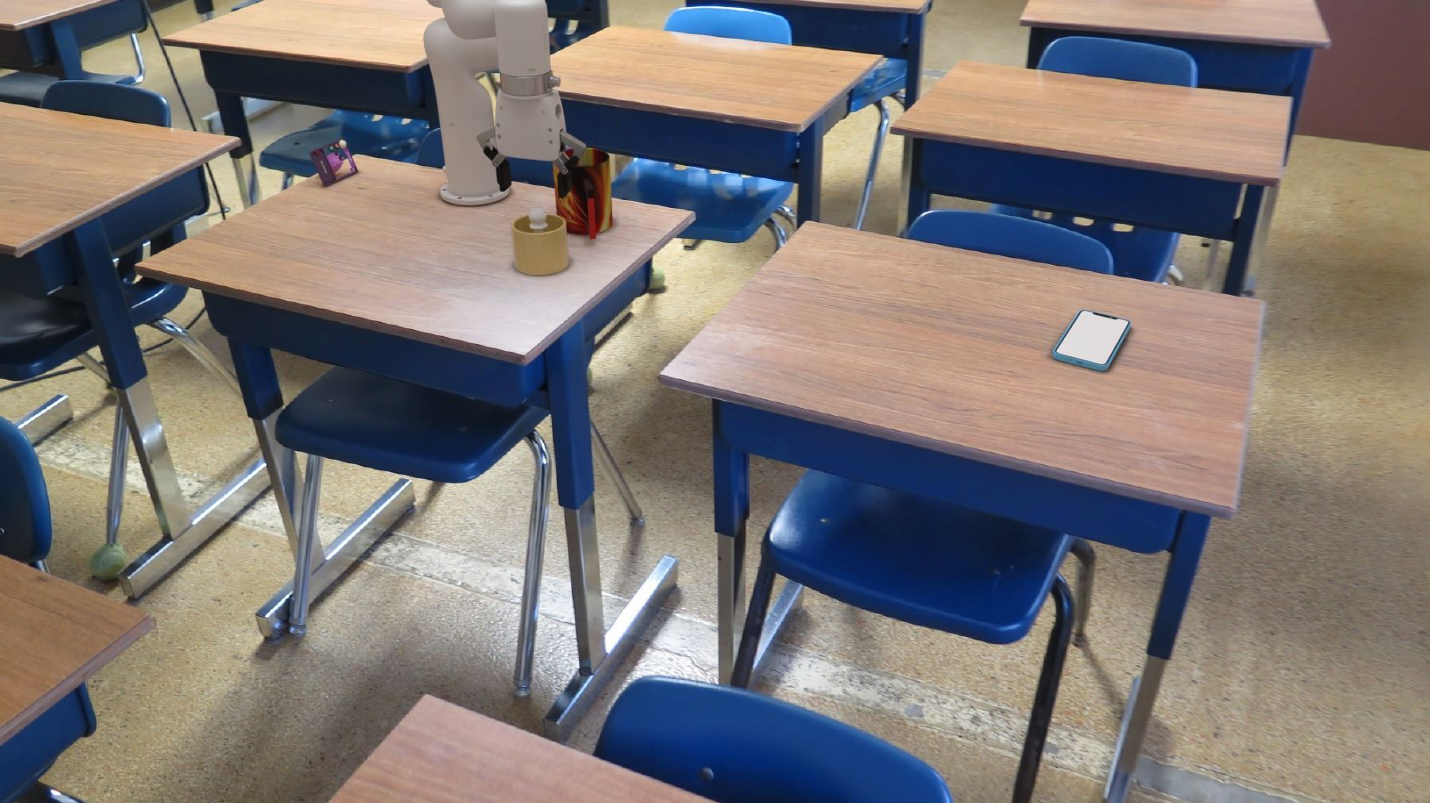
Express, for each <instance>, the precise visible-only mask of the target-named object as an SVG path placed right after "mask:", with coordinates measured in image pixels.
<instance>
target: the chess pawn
mask: <svg viewBox="0 0 1430 803" xmlns="http://www.w3.org/2000/svg"><path fill="white" fill-rule="evenodd" d="M546 213H547V212H546V210H545V209H544V208H543V207H541V206H533V207H532V208H530V210H529V212H528V215H529V220H530V221H531V222H532V223H531V224H530V225H529V227H530V228H532V229H534V233H544V228H546V227H547V226H548V225H547V223H546V222H545V220H546V218H547V215H546Z"/></svg>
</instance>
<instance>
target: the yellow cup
mask: <svg viewBox="0 0 1430 803" xmlns="http://www.w3.org/2000/svg"><path fill="white" fill-rule="evenodd" d="M546 215H547V218H546V220H545V222H546V223H547V225H548V226H547V227H546V228H544V233H534V229H532V228H530V227H529V225H530V224H531V223H532V222H531V221H530V220H529V214H525V215H521V216H519V217H517V218H515V219H513V220H512V221H511V225H510V229H511V230H510V231H511V241H512V248H513V249H512V251H513V261H514V267H515V270H517V271H518V272H520V273H522V274H525V275H530V276H548V275H553V274H556V273H557V274H558V273H560V272H562V271H564V270H565V269H567V267H568V266H569V264H570V256H569V255H570V254H569V243H568V233H567V226H566V220H565V219H564V218H562V217H560V216H558V215H557V214H555V213H554V214H553V213H547V212H546Z"/></svg>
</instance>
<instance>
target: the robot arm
mask: <svg viewBox="0 0 1430 803" xmlns="http://www.w3.org/2000/svg"><path fill="white" fill-rule="evenodd" d="M426 2H427V3H428V4H429V5H430V6H432V7H434V8H439V9H441V11H442V13H443V16H444V17H440V18H438V19H436V20H433V21H431V22H430V23H429V24H428V25H427V26H426V28H425V30H424V31H423V35H422V36H423V38H422V40H423V47H424V52H425V55H426V59H427V62H428V65H429V70H430V72H431V76H432V82H433V86H434V92H435V99H436V104H437V113H438V119H439V120H438V121H439V127H440V134H441V135H440V136H441V142H442V150H443V157H444V158H443V159H444V165H443V166H442V168H441V170H442V172H443V173H444V174H445V175H446V181H447V182H446V183H444V184H443V185H442V186H440V189H439V193H440V197H441V199H442V200H443V201H445V202H447V203H449V204H453V205H458V206H459V205H460V206H481V205H488V204H493V203H495V202H498V201H501V200H503V199H505V198H506V197H507V196H508V195H509V194H510V192H511V191H510V190H511V189H510V187H511V186H512V184H513V182H512V173H511V163H510V161H509V160H507V159H508V158H514V159H525V160H533V161H542V162H543V161H544V162H551V163H552V165H553V164H554V165H555V166H556V167H557V168H558V170H559V171H560V172H559V173H558V174H557V184H558V197H559V198H562V199H563V198H564V197H565V196H566V195H567V194H568V193H569V192H570V191H571V188H572V183H571V169H572V168H573V167H574V166H575V165H576V164H577V163H578V162H579V161H580V160H581V157H582V155H583V153H584V151H585V149H586V148H587V144H586V143H584V142H583V141H582V140H579V139H578V138H576V137H575V136H573V135H572V134H569V133H568V132H567V125H566V120H565V114H564V109H563V104H562V100H561V96H560V93H559V90H557V89H556V87H558V88H559V87H560V86H561V83H562V79H561V78H560V77H558V76H555V75H554V72H553V71H554V70H553V69H552V63H551V47H550V32H549V18H548V16H549V15H548V5H547V2H546V0H426ZM491 71H499V83H500V88H499V89H498V90H497V93H496V100H495V116H494V108H493V101H492V96H491V94H490V92H489V90H488V89H487V88H486V87H485V86H484V85H483V84H482V83H481V82H480V81H479V80H478V79H477V78H476V77H475V76H476V74H481V73H483V72H491ZM554 88H555V89H554ZM568 148H569V149H573V151H574V152H573V155H572V157H571V158H570V159H569V157H568V156H567V155H566V154H565V152H564V151H566V150H567V149H568Z"/></svg>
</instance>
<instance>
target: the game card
mask: <svg viewBox="0 0 1430 803" xmlns="http://www.w3.org/2000/svg"><path fill="white" fill-rule="evenodd" d="M326 148H327V149H328V151H329V152H330V153H329V154H328V155H327V154H326V151H325V149H326ZM341 149H342V150H343V153H344V154H345V157H346V158H347V160H348V162H349V165H350V168H349V171H350V172H349V173H347V174H345V175H342V176H340V177H338V178H337V176H336V175H335V173H337V172H339V170H341V168H342V167H343V165H344V162H343V160H346V159H345V157H342V156H340V154H341V152H338V153H337V152H335V151H338V150H341ZM308 154H309V156H310V159H311V161H312V163H313V165H314V167H315V170H316V172H317V174H318V176H319V179H320V181H321V183H322V185H323V187H327V186H329V185H332V184H334V183H337V182H339V181H341V180H344V179H346V178H347V177H350V176H353V175H354V174H356V173H359V169H358V167H357V165H356V162H355V160H354V158H353V155H352V153H351V151H350V149H349V146H348V144H347V142H346V139H345V138H340V139H338V140H334V141H333V142H330V143H328V144H325V145H323V146H320V147H318V148H315V149H313V150H311V151H308Z"/></svg>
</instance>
